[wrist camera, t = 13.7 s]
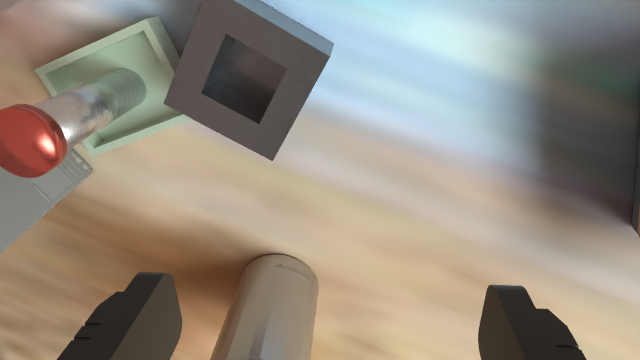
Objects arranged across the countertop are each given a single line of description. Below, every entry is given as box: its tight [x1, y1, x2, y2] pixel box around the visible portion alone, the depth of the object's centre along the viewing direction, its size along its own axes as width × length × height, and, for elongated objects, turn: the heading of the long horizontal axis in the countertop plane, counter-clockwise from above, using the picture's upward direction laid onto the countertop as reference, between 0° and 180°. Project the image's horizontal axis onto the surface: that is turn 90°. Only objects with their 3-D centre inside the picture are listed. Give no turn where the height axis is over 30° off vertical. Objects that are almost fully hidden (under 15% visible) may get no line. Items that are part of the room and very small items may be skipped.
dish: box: [34, 16, 192, 157], centre depth 39 cm, size 12×9×2 cm
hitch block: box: [163, 0, 334, 161], centre depth 36 cm, size 10×10×6 cm
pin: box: [0, 68, 147, 178], centre depth 33 cm, size 5×5×14 cm
